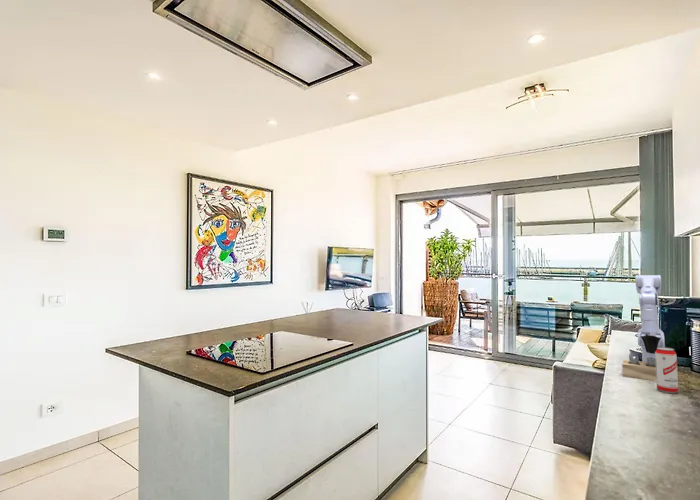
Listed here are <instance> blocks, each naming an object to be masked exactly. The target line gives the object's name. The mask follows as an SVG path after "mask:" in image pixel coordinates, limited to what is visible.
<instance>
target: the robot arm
mask: <svg viewBox="0 0 700 500" xmlns="http://www.w3.org/2000/svg"><path fill="white" fill-rule="evenodd" d="M634 280H635V287H636V288H635V289H636V292H637V294H638V304H639V309H640V319H641V321H640V323H641V328H639V329H638V330H637V345H638V346H639V347H641V356H642V357H641V358H642V360H641V362H647V358H648V357H649V358H655V351H656V350H657V347H665V348H666V343H665V333H664V332H663V330H662V329H660V328H659V317H658V316H659V314H658V307H659V296H658V295H661V292H662V276H661V275H660V274H655V275H654V274H653V275H648V274H641V275H640V274H636V275H635V279H634Z"/></svg>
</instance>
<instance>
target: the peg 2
mask: <svg viewBox="0 0 700 500" xmlns="http://www.w3.org/2000/svg"><path fill="white" fill-rule="evenodd" d="M647 366H652V367H656V361H655V358H649V357H648V358H647Z"/></svg>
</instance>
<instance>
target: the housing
mask: <svg viewBox="0 0 700 500" xmlns="http://www.w3.org/2000/svg"><path fill="white" fill-rule="evenodd" d="M621 367H622V369H621V370H622V377H624V378H632V379H639V380H646V381H647V380H648V381H652V382H653V381H655V382H657V380H656V367H652V366H647V362H642V361H639V365H635V364H630V359H623V361H622V364H621Z"/></svg>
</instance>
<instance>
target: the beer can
mask: <svg viewBox="0 0 700 500" xmlns="http://www.w3.org/2000/svg"><path fill="white" fill-rule="evenodd" d="M677 358H678V357H677V353H676V350H675V348H672V347H666V346H665V347H657V350H656V351H655V361H656V380H657V381H656V388H657V389H658V391H659V392H662V393H666V394H676V393H678V392H679V377H678V376H679V374H678V359H677Z"/></svg>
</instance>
